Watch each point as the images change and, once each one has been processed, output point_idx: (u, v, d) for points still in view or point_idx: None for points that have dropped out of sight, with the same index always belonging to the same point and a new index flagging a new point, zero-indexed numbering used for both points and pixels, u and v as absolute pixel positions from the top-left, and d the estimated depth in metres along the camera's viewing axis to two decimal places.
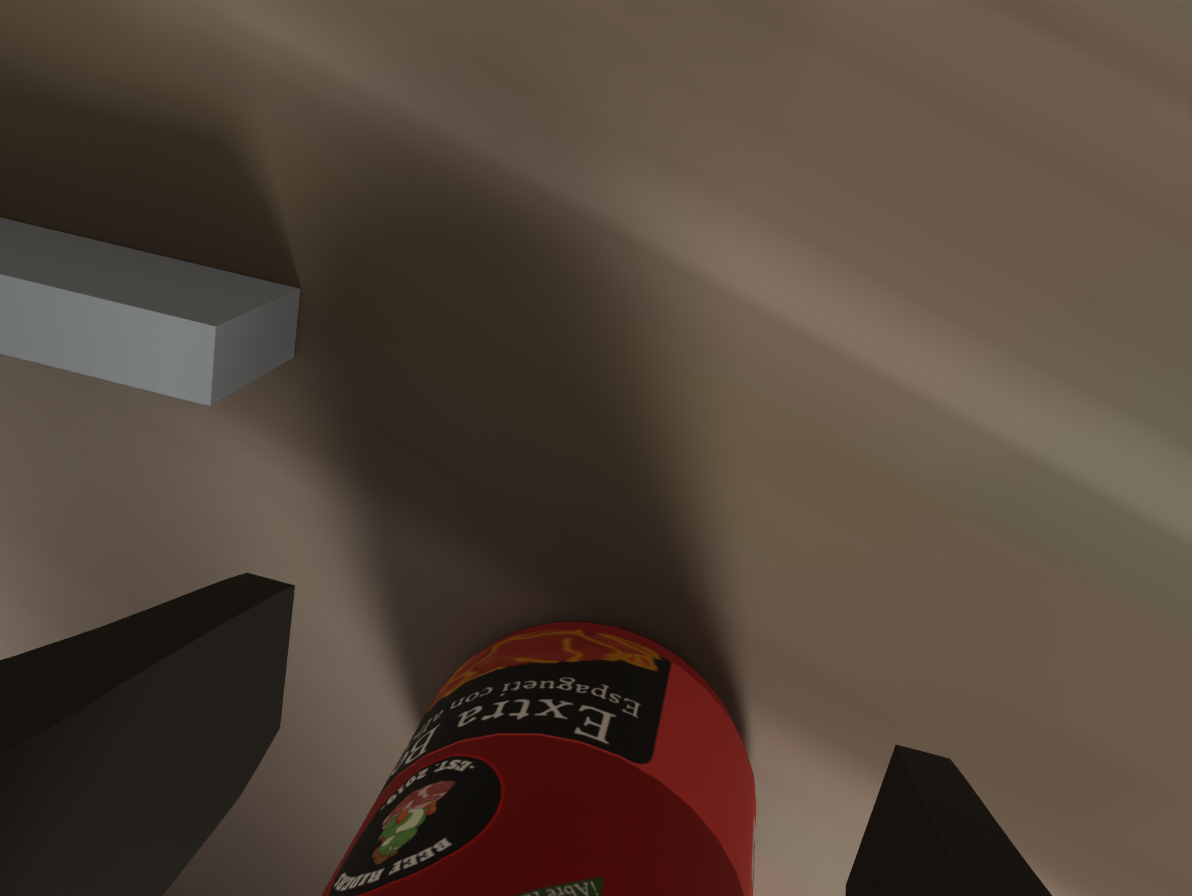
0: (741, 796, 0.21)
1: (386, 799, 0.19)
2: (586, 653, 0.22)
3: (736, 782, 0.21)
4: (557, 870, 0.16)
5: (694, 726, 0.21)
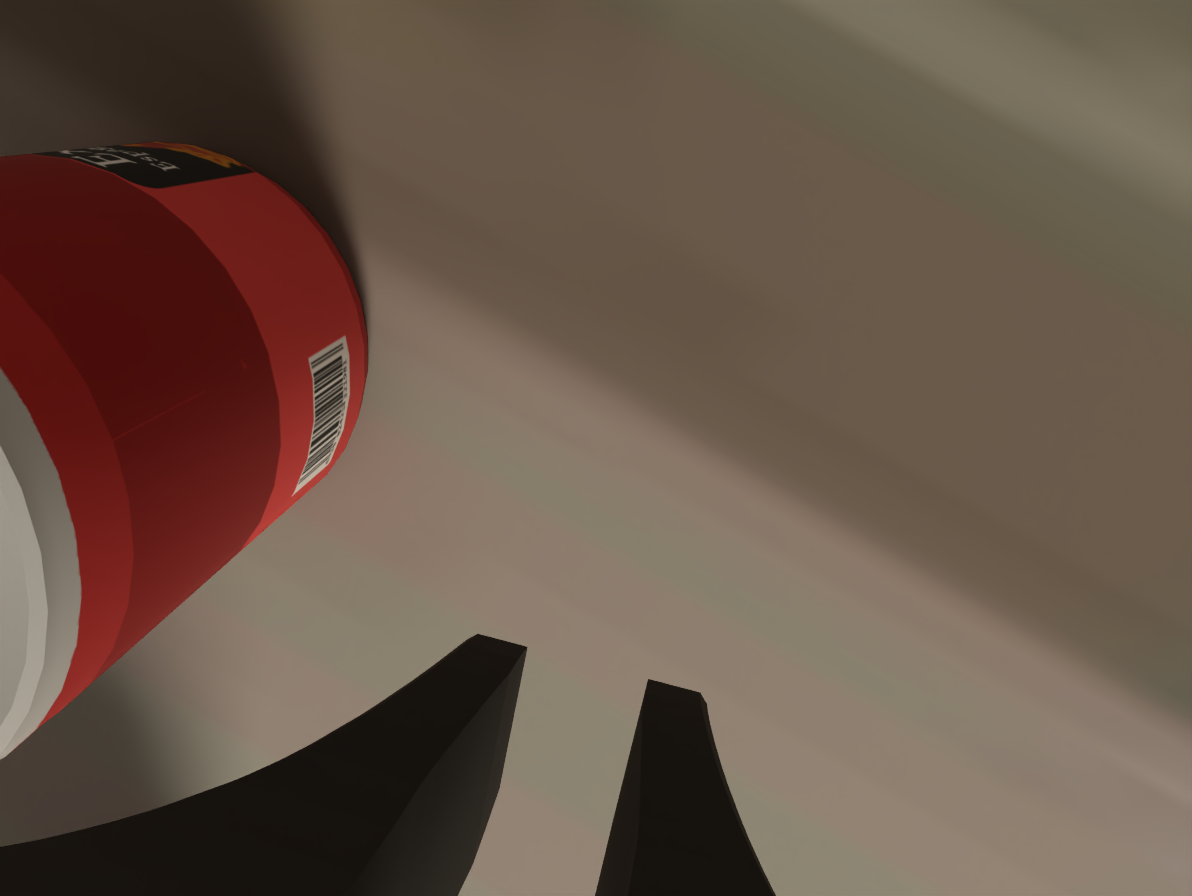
0: (306, 285, 0.20)
1: None
2: (148, 145, 0.20)
3: (302, 272, 0.20)
4: None
5: (250, 205, 0.19)
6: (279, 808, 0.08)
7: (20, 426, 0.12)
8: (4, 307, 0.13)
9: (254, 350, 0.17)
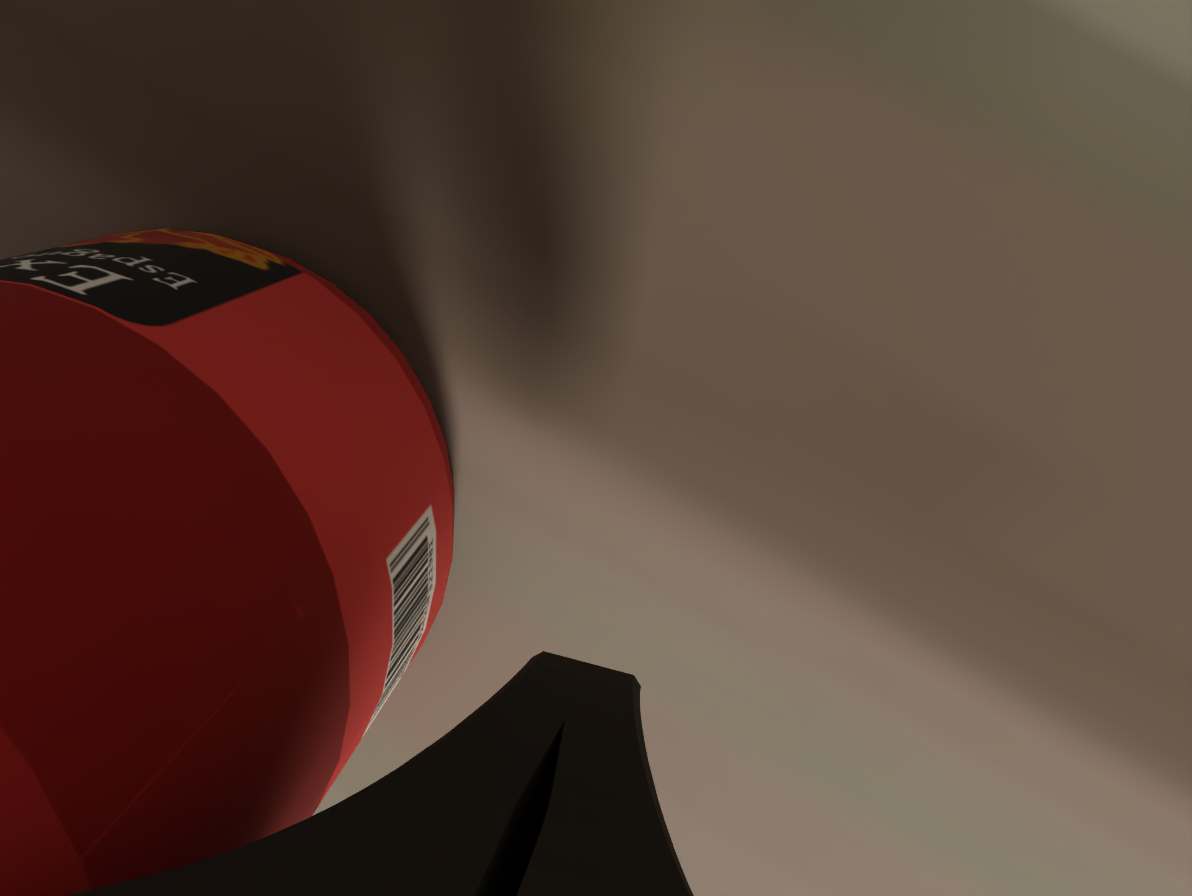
0: (380, 446, 0.13)
1: None
2: (150, 239, 0.14)
3: (375, 428, 0.14)
4: None
5: (299, 331, 0.13)
6: (379, 836, 0.08)
7: None
8: None
9: (314, 579, 0.11)
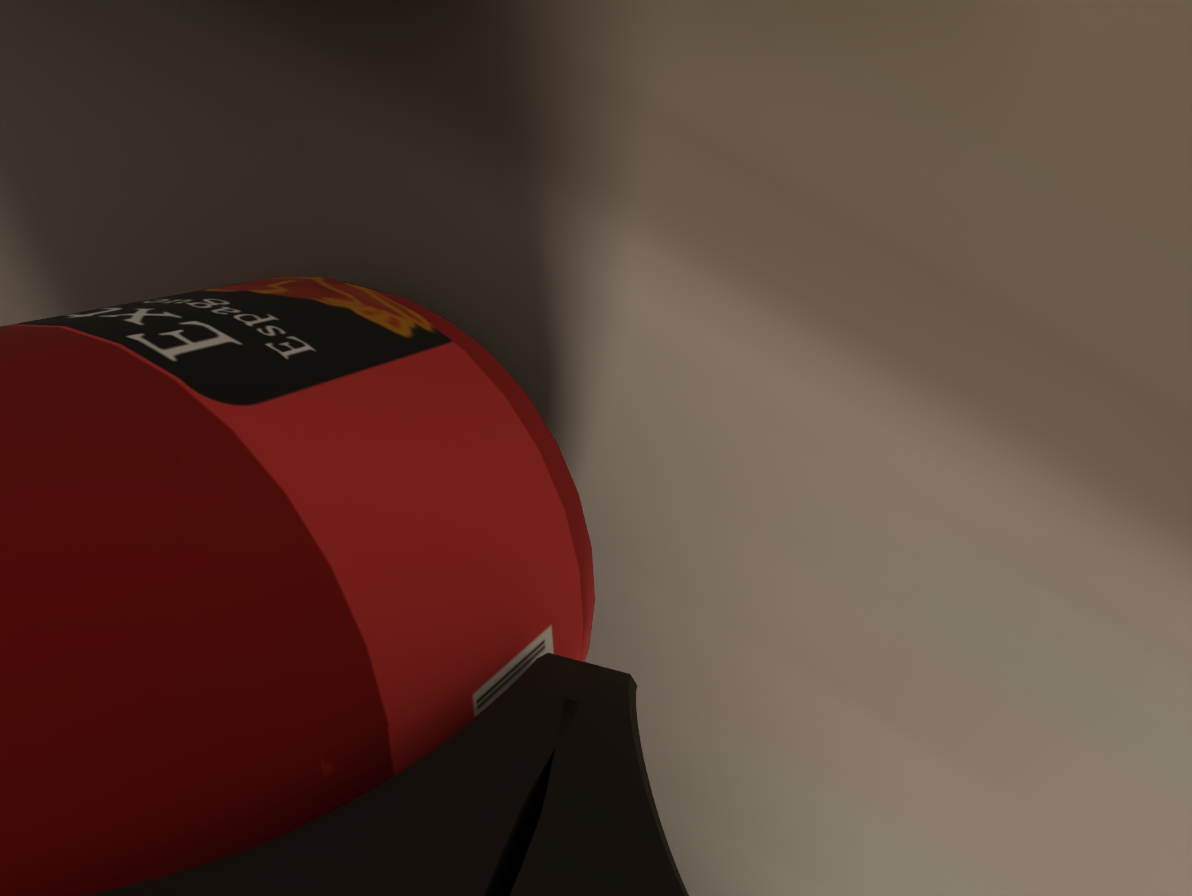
0: (491, 559, 0.12)
1: None
2: (295, 291, 0.13)
3: (489, 535, 0.12)
4: None
5: (421, 416, 0.12)
6: (385, 839, 0.08)
7: None
8: None
9: (357, 727, 0.09)
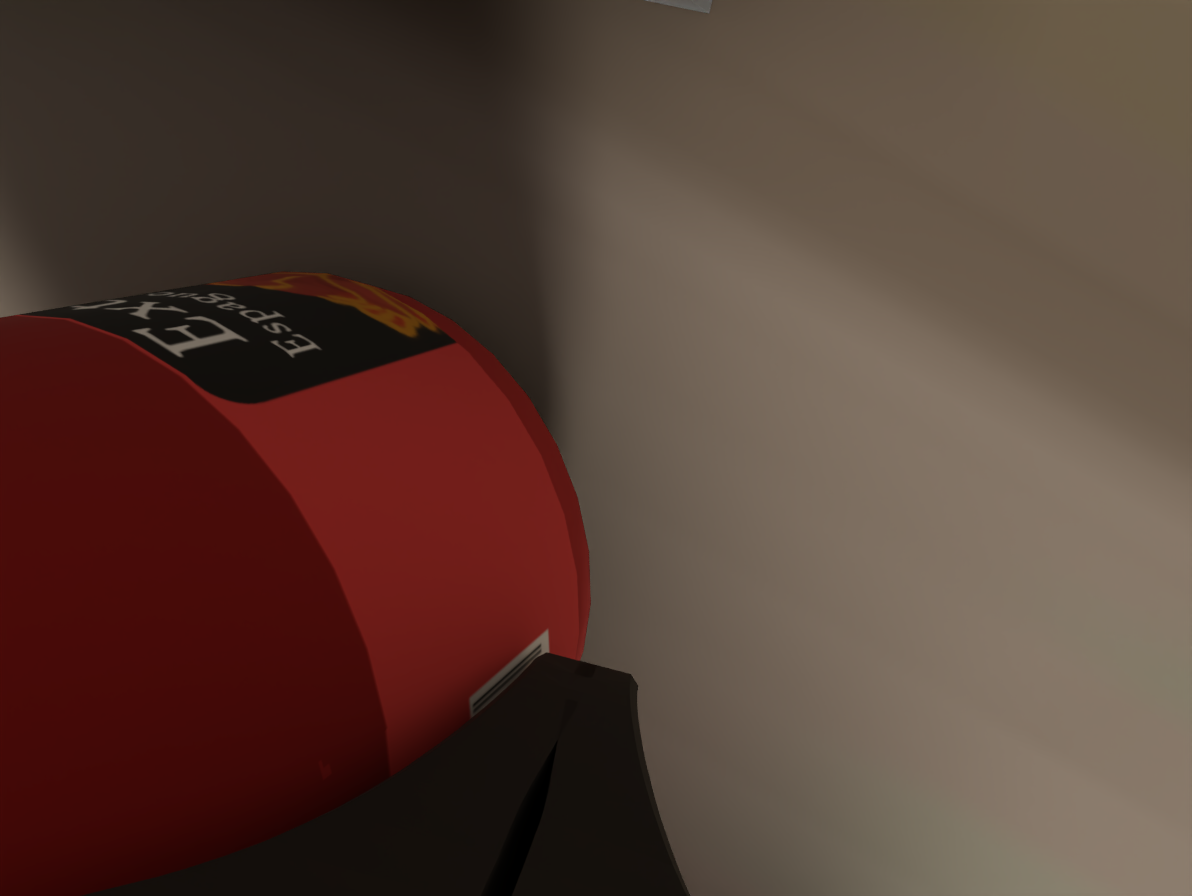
0: (491, 563, 0.12)
1: None
2: (300, 288, 0.13)
3: (490, 539, 0.12)
4: None
5: (425, 418, 0.12)
6: (384, 838, 0.08)
7: None
8: None
9: (356, 730, 0.09)
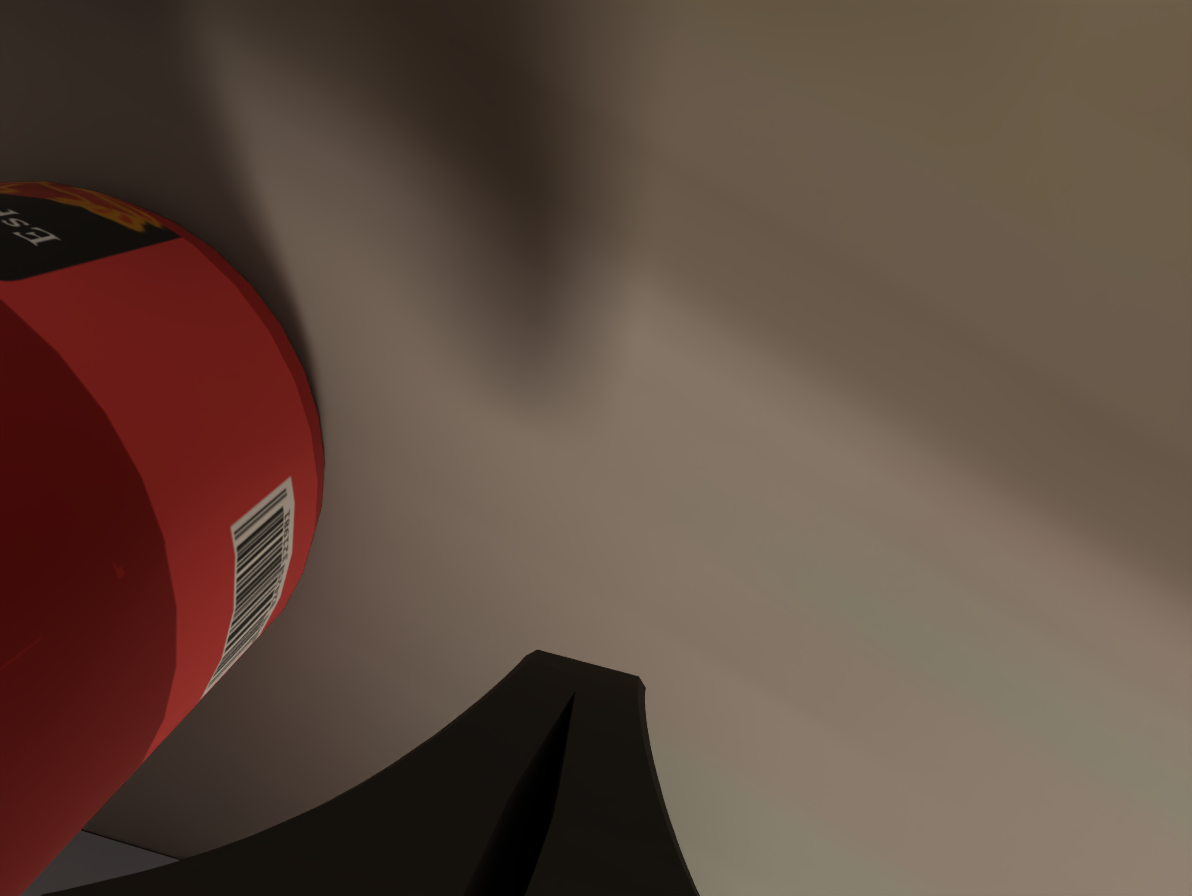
0: (236, 416, 0.14)
1: None
2: (26, 192, 0.14)
3: (233, 397, 0.14)
4: None
5: (164, 297, 0.13)
6: (369, 834, 0.08)
7: None
8: None
9: (140, 541, 0.11)
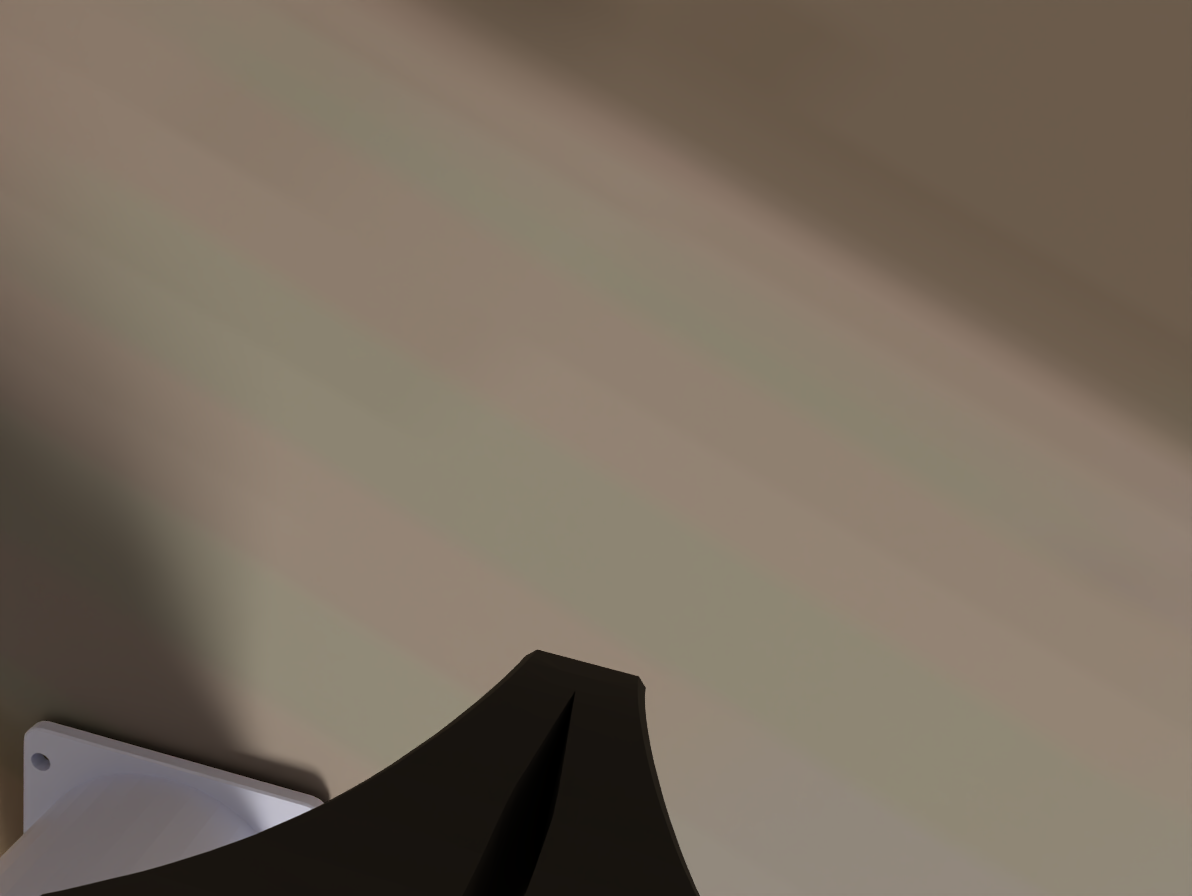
0: None
1: None
2: None
3: None
4: None
5: None
6: (369, 834, 0.08)
7: None
8: None
9: None
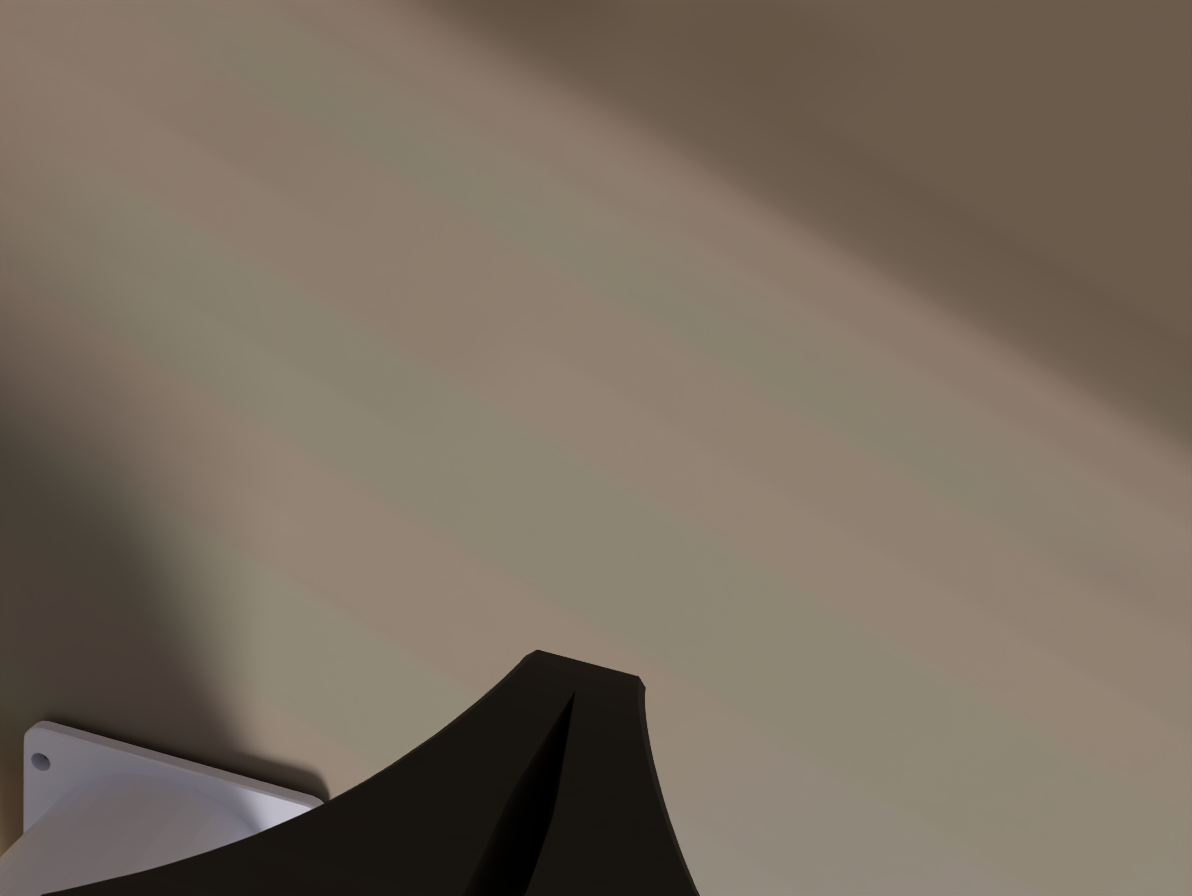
0: None
1: None
2: None
3: None
4: None
5: None
6: (369, 834, 0.08)
7: None
8: None
9: None
